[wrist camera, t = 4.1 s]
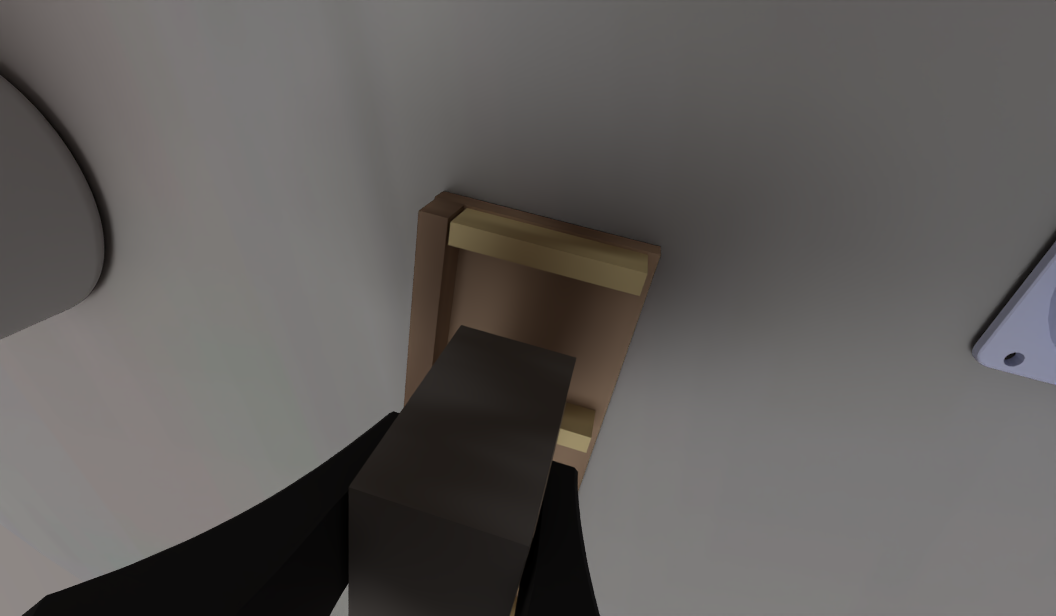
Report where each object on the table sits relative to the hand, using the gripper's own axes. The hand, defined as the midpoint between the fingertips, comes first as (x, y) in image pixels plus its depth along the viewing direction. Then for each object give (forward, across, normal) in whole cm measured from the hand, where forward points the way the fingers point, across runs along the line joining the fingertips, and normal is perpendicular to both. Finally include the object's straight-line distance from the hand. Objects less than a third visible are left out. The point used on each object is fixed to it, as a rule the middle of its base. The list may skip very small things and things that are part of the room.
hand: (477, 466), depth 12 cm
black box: (+3, 0, 0) cm, 3 cm away
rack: (+8, 0, +7) cm, 11 cm away
